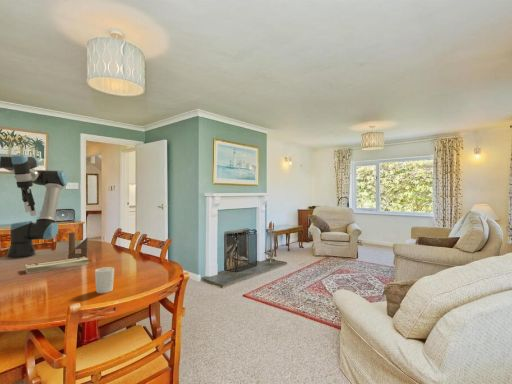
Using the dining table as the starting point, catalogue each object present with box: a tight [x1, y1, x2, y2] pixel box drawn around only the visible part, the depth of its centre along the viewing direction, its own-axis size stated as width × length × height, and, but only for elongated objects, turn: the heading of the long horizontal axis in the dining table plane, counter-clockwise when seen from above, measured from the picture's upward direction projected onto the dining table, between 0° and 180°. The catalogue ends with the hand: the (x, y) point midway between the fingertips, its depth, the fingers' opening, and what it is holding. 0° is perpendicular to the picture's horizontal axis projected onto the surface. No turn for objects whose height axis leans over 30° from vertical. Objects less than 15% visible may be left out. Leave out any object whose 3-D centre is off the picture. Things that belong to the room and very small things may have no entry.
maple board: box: [24, 257, 90, 275], centre depth 168 cm, size 10×30×3 cm, turn 135°
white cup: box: [94, 266, 115, 294], centre depth 130 cm, size 8×8×10 cm
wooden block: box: [67, 231, 89, 259], centre depth 187 cm, size 4×11×18 cm, turn 114°
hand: (31, 213), depth 177 cm, fingers open, 13 cm apart
